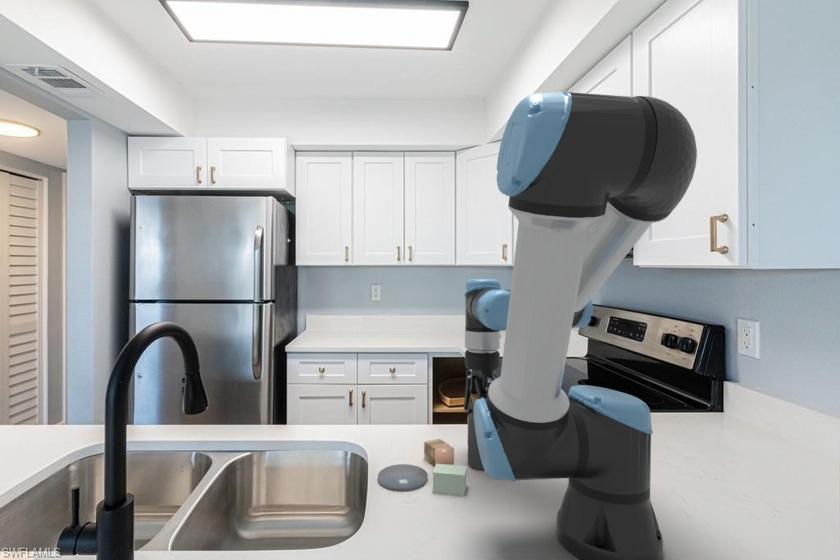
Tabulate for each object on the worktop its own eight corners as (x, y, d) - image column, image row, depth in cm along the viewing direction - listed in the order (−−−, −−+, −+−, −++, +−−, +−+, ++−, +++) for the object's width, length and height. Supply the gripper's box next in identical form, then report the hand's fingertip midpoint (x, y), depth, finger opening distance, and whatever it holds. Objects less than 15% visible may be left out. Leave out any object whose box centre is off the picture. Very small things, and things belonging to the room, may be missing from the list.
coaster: (433, 488, 84) (433, 484, 84) (381, 493, 81) (381, 489, 81) (421, 466, 93) (421, 462, 93) (374, 470, 91) (374, 466, 91)
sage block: (464, 496, 81) (464, 475, 81) (432, 493, 82) (433, 472, 82) (466, 486, 85) (466, 466, 85) (435, 483, 86) (435, 463, 86)
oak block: (448, 462, 95) (449, 444, 95) (433, 466, 93) (433, 447, 93) (439, 456, 99) (439, 438, 99) (424, 459, 97) (424, 441, 97)
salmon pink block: (456, 476, 89) (456, 451, 89) (437, 477, 88) (437, 453, 88) (450, 467, 93) (450, 444, 93) (432, 469, 92) (432, 445, 92)
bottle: (493, 459, 97) (494, 392, 97) (495, 471, 91) (496, 400, 91) (467, 458, 98) (468, 391, 97) (467, 469, 92) (468, 399, 92)
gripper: (520, 358, 85) (519, 473, 85) (480, 342, 105) (479, 434, 106) (484, 359, 83) (483, 477, 83) (450, 342, 104) (449, 436, 104)
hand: (481, 453), depth 94 cm, fingers open, 9 cm apart
